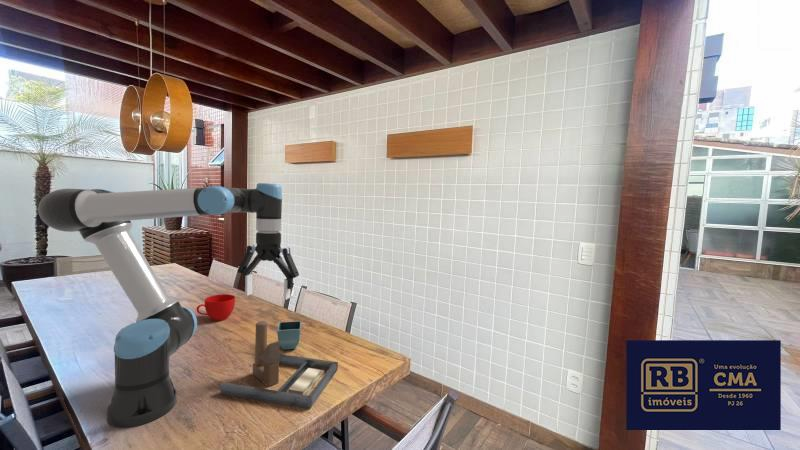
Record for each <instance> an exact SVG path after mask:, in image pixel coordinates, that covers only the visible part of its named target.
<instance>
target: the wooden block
mask: <svg viewBox="0 0 800 450" xmlns="http://www.w3.org/2000/svg"><path fill="white" fill-rule="evenodd" d="M254 345H255V348H254V349H255V351H254V353H255V354H254V363H253V364H252V375H253V376H255V377H256V378H257V379H258V380H259V381H261V382H262V383H263V384H265V386H267V387H272V386H273V385H276V384H279V381H280V380H279V377H280V376H279V375H280V374H279V373H280V364H279V354H280V348H281V347H280V341H278V340H277V341H274V342H272V343H269V344H268V322H267V321H265V320H264V321H257V322H256V324H255V343H254Z"/></svg>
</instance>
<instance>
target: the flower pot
mask: <svg viewBox="0 0 800 450" xmlns="http://www.w3.org/2000/svg"><path fill="white" fill-rule="evenodd" d="M301 328H302V321H301V320H295V321H280V322H278V325H277V328H276V329H277V330H276V333H277V341H280V347H279V348H281V350H282V351H283V350H285V351H286V350H294V349H297V347H298V345H299V342H300V338H301V332H302V331H301Z"/></svg>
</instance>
